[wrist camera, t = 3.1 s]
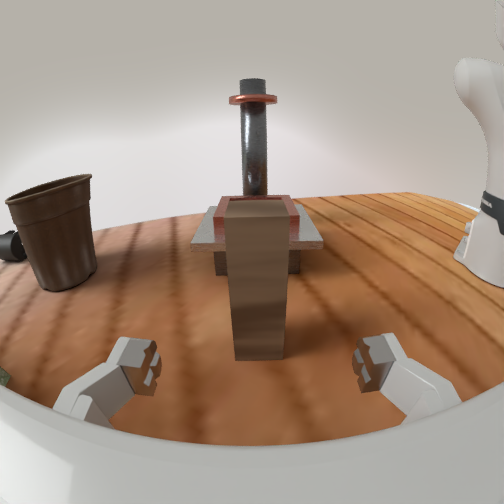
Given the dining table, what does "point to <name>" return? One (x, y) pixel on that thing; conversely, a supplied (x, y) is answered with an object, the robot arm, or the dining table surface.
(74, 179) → the plant pot
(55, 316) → the dining table surface
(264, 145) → the bracket
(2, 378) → the grocery bag
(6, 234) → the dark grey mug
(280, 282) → the tall wooden post
